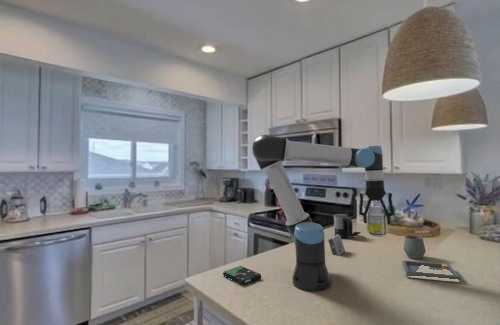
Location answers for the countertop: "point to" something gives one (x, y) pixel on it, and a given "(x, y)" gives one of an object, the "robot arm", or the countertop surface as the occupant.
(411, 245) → the cup
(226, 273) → the disk drive
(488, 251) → the countertop surface
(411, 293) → the countertop surface
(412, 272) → the grey tray
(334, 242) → the electrical switch
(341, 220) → the milk frother
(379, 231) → the supplement bottle
